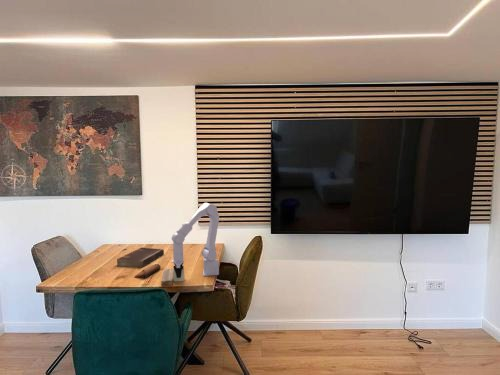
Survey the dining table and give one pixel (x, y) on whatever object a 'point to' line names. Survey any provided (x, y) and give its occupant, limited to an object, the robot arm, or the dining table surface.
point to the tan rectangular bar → (167, 277)
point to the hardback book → (140, 257)
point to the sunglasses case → (148, 271)
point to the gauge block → (176, 276)
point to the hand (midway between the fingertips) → (178, 275)
